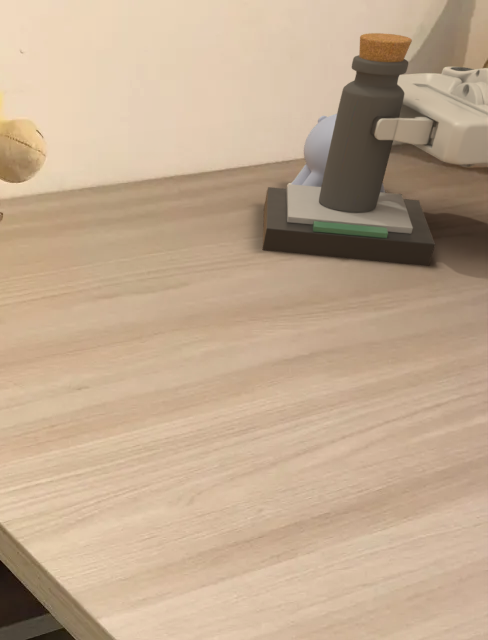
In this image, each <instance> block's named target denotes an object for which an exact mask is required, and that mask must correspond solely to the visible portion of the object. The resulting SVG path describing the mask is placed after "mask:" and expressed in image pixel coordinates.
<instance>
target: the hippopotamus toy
mask: <svg viewBox="0 0 488 640" xmlns="http://www.w3.org/2000/svg"><path fill="white" fill-rule="evenodd" d="M336 117H337V113H335V114H331V115H328V116H327V115H321V116H319V118H318V119H317V123H316V124H315V125H314V126H313V127H312V128H311V130H310V131H309V133H308V134H307V136H306V139H305V141H304V144H303V157H304V158H303V159H304V161H305V164H304V166H303V167H302V168H301V170H300V171H299V172H298V174H297V175H296V176H295V178H294V179H293V181H292V182H288V184H292V185H303V186H315V187H321V186H322V181H323V177H324V172H325V167H326V163H327V158H328V153H329V149H330V144H331V140H332V135H333V130H334V126H335V121H336ZM380 192H384V193H386V189H385V186H384V182H383V183H382V187H381V191H380Z"/></svg>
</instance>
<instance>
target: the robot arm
mask: <svg viewBox="0 0 488 640" xmlns="http://www.w3.org/2000/svg"><path fill="white" fill-rule="evenodd" d="M397 85H399V86H400V87H401V88H402V89H403V91H404V99H403V103H402V107H401V111H400V116H399V118H394V117H392V116H377V117H375V118H374V120H373V123H372V128H371V131H370V133H371V135H372V136H373V137H375V138H376V139H378V140H393V142H399V143H404V144H408V145H409V144H410V145H412V146H413V147H416V148H418V149H420V150H421V151H423V152H425V153H427V154H428V155H431V156H432V157H434V158H436V159H437V160H439V161H441V162H443V163H445V164H450V165H458V166H459V167H462V168H488V67H482V68H471V67H463V66H445V67H443V68H442V70H441V73H439V72H438V73H435V72H421V73H419V72H418V73H405V74H402V75H399V78H398V83H397Z"/></svg>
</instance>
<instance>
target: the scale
mask: <svg viewBox="0 0 488 640" xmlns="http://www.w3.org/2000/svg"><path fill="white" fill-rule="evenodd" d="M320 191H321V187H315V186H303V185H292V184H289V183H287V185H286V188H283V187H282V188H281V187H273V186H272V187H271V186H270V187H269V186H268V187H267V190H266V195H265V199H264V206H263V220H262V221H263V224H262V246H261V247H262V248H261V249H262V251H265V252H266V251H268V252H278V253H286V254H297V255H298V254H299V255H306V256H308V255H309V256H316V257H317V256H319V257H329V258H338V259H339V258H340V259H349V260H360V261H370V262H379V263H389V264H391V263H392V264H399V265H402V264H403V265H411V266H412V265H413V266H422V267H429V266H430V263H431V259H432V256H433V253H434V250H435V246H436V243H435V240H434V238H433V235H432V232H431V229H430V227H429V224H428V221H427V219H426V215H425V213H424V211H423V208H422V205H421V202H420V200H419V199H408V198H404V197H403V194H402V193H394V192H385V193H384V192H380V194H379V198H378V202H377V205H376V208H375V209H373V210H371V211H367V212H344V211H338V210H334V209H330V208H327V207H325V206H323V205H321V204H320V203H319V196H320Z"/></svg>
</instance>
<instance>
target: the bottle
mask: <svg viewBox="0 0 488 640" xmlns="http://www.w3.org/2000/svg"><path fill="white" fill-rule="evenodd" d="M412 42H413V39H412V38H410V37H409V36H405V35H401V34H396V33H395V34H394V33H393V34H392V33H381V32H374V33H373V32H371V33H370V32H369V33H364V34H363V33H362V34H361V35H360V36H359V52H358V53H359V54H358V55H355V56H354V57H353V58H352V62H351V69H352V71H355V77H354V80H352V81H350V82H348V83H347V84H346V85H344V86H343V88H342V91H341V96H340V99H339V103H338V107H337V111H336V112H337V113H336V114H337V117H336V121H335V126H334V130H333V135H332V140H331V144H330V149H329V153H328V158H327V163H326V167H325V172H324V177H323V181H322V186H321V191H320V196H319V203H320V204H321V205H323V206H325V207H327V208H330V209H334V210H338V211H344V212H367V211H371V210H373V209H375V208H376V205H377V202H378V198H379V194H380V191H381V187H382V183H383V184H384V178H385V175H386V171H387V167H388V163H389V160H390V159H389V158H390V155H391V152H392V147H393V144H394V140H378V139H376V138H375V137H373V136H372V135H371V133H370V131H371V128H372V123H373V120H374V118H375V117H377V116H392V117H394V118H399V116H400V111H401V107H402V103H403V99H404V91H403V89H402V88H401V87H400V86H399V85H397V83H398V78H399V75H405V74H407V70H408V67H409V60H407V59H405V58H406V56H407V53H408V51H409V50H410V49H409V48H410V46H411V44H412Z"/></svg>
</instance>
